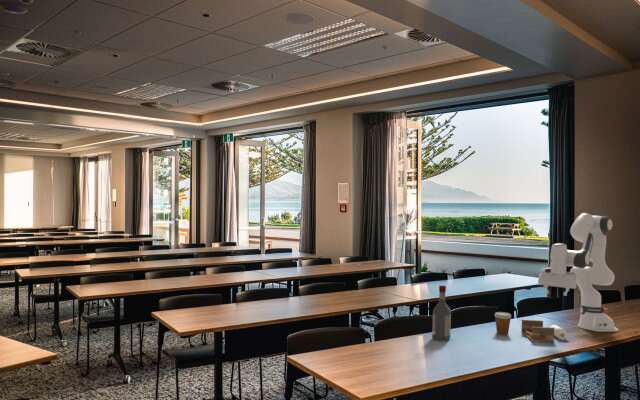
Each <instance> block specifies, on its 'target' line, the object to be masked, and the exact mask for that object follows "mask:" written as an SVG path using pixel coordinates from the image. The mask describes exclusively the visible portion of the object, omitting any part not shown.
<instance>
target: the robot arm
mask: <svg viewBox="0 0 640 400" xmlns="http://www.w3.org/2000/svg"><path fill="white" fill-rule="evenodd" d="M612 230H613V220H612V218H611V217H609V216H606V215H602V216H601V215H592V214H590V213H587V212H586V213H585V212H583V213H581V214H580V215H578V216H577V217H576V218H575V219H574V222H573V223H572V225H571V227H570V230H569V232H570V233H569V234H570V235H571V237H572V238H573V239H574V240H575V241H577V242H579V243H582V247H581V249H580V250H573V249H572V250H571V249H568V247H567V244H565V243H560V242H559V243H558V242H557V243H554V244H552V246H551V249H550V257H549V259H550V263H549V267H544V268H541V269H540V273H539V274H538V275H539V276H538V280H537V283H538V285H539V286H544V287H543V288H544V289H545V293H546V294H548V295H549V294H550V290H548V287H556V288H565V291H564V292H563V296H564V297H566V296H568V292H569V291H570V289H574V290H575V289H576V288H577V286H578V289H579V291H580V298H581V301H580V302H581V303H580V308H579V311H580V316H579V322H578V324H577V327H579V328H580V329H582V330H583V329H584V330H589V331H593V332H597V333H599V332H619V328H617V327H616V326H615V322H614V320H613V319H612V318H611V317H610V316H609V315H608V314H606V313H605V312H607V311H608V309H607V308H606V307H603V306H602V295H601V293H600V292H599V291H598V290H597V289H595V288H594V287H593V285H596V286H611V285H613V283H614V281H615V278H616V277H615V273H614V272H613V271H612V270H611V269H610V268H609V267H608V264H607V263H606V249H607V235H608V233H610V232H611V231H612ZM590 262H591V263H592V266H589V264H590ZM567 267H572V268H570V270H569V271H567Z"/></svg>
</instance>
